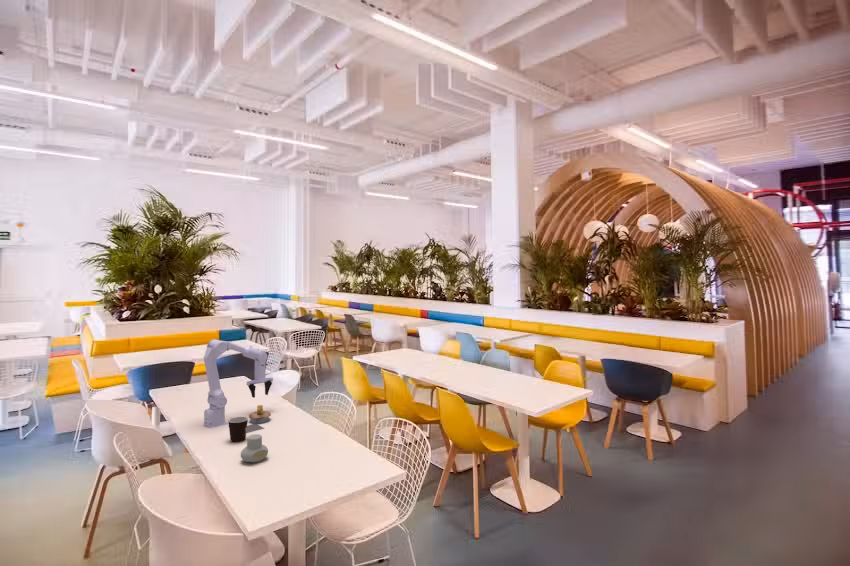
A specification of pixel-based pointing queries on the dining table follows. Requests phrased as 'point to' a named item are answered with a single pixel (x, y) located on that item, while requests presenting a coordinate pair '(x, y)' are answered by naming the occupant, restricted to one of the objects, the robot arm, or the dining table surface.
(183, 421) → the dining table surface
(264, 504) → the dining table surface
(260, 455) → the air freshener
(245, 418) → the coffee mug
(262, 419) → the bowl
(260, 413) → the lid
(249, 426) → the mat
